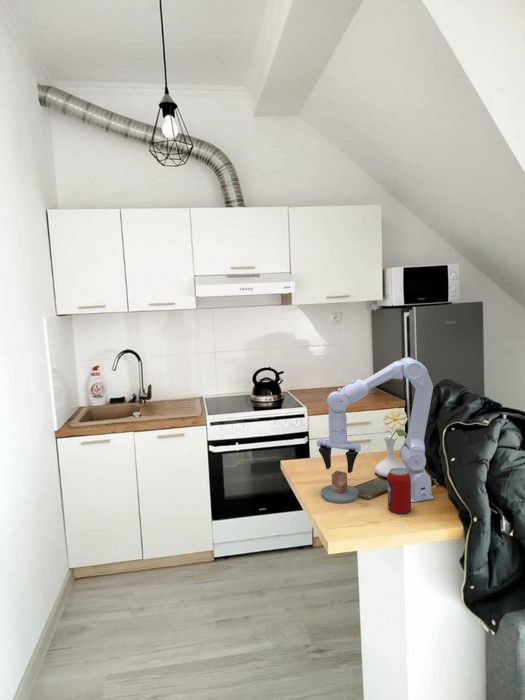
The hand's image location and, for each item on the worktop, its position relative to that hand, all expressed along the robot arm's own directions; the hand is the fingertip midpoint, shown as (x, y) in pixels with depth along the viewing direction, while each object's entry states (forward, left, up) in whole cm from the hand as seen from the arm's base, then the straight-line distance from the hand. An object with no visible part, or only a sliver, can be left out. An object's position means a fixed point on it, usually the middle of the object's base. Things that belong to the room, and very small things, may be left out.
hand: (339, 470), depth 154 cm
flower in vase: (+9, -25, -9) cm, 28 cm away
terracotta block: (0, 0, -7) cm, 7 cm away
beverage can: (-16, -12, -9) cm, 22 cm away
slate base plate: (0, 0, -9) cm, 9 cm away
